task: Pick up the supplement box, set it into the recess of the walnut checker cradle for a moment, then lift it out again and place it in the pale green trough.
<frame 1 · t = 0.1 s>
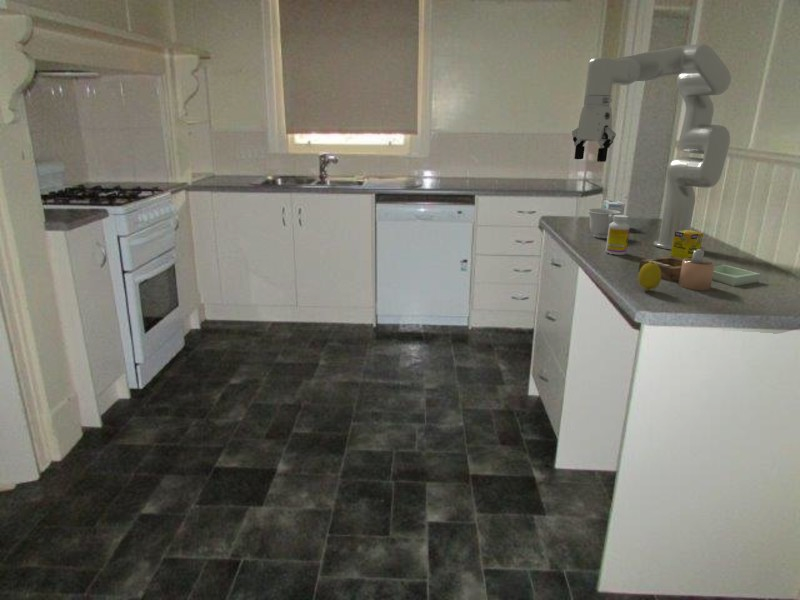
hand: (589, 160, 177), 31 cm above the countertop, tool pointing down, fingers open, 9 cm apart
supplement bottle: (615, 253, 194), on the countertop
cradle: (669, 273, 170), on the countertop
tan dispenser bottle: (694, 286, 158), on the countertop
teacup: (602, 238, 220), on the countertop
light bulb box: (610, 227, 241), on the countertop
supplement box: (682, 266, 180), on the countertop
trough: (728, 279, 166), on the countertop
lemon: (647, 291, 153), on the countertop
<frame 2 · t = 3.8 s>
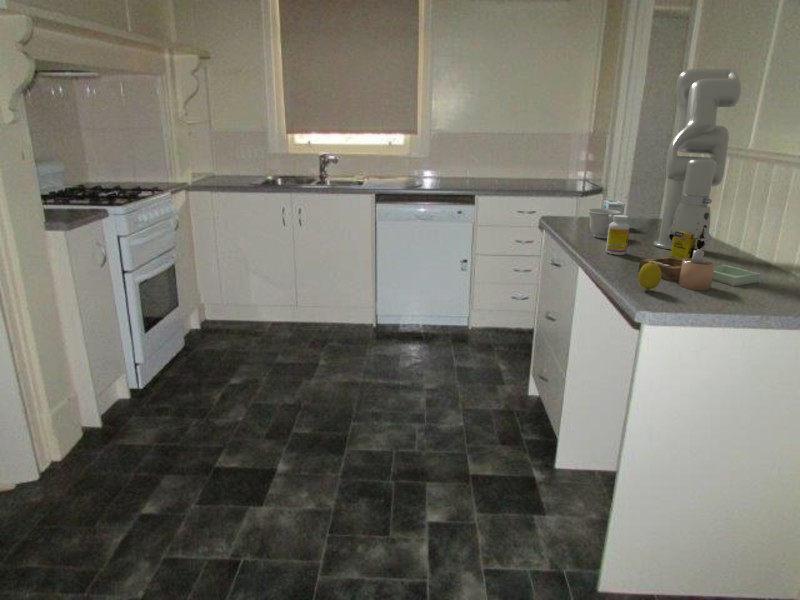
hand: (684, 257, 179), 3 cm above the countertop, tool pointing down, fingers closed on supplement box, 6 cm apart
supplement box: (682, 266, 180), on the countertop, touching gripper
everything else where it was.
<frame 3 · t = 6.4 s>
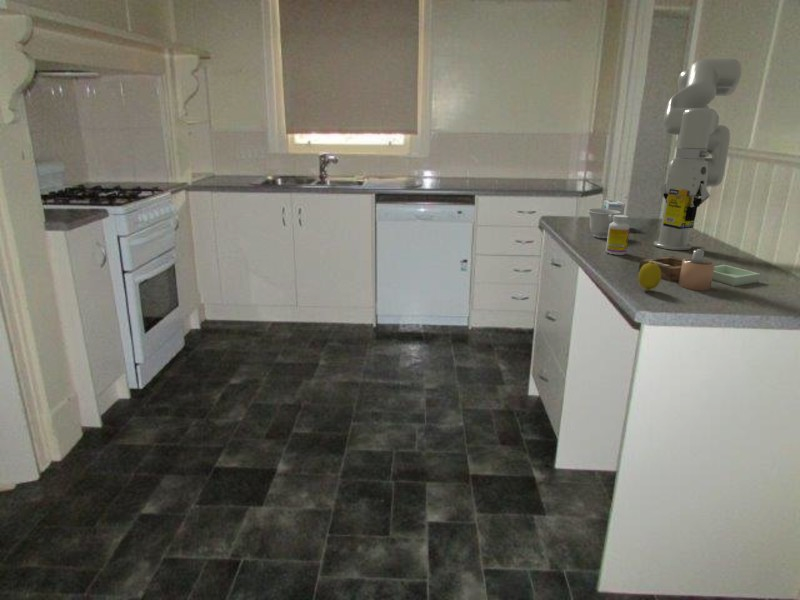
hand: (679, 218, 165), 17 cm above the countertop, tool pointing down, fingers closed on supplement box, 6 cm apart
supplement box: (678, 227, 166), point 14 cm above the countertop, touching gripper
everything else where it was.
when the fingers open (4 cm above the countertop, at t = 8.9 s): supplement box stays where it is, resting on cradle.
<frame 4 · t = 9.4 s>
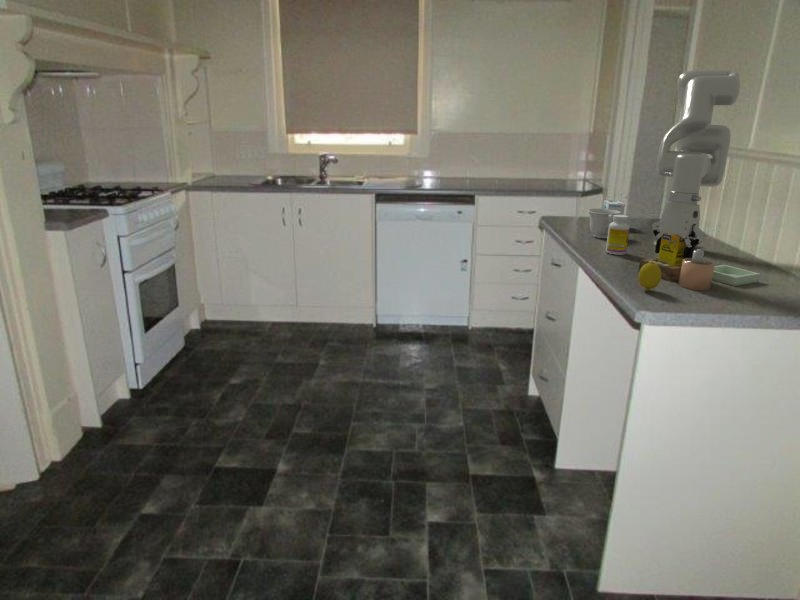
hand: (672, 256, 169), 5 cm above the countertop, tool pointing down, fingers open, 9 cm apart
supplement box: (670, 271, 170), point 1 cm above the countertop, touching cradle
everything else where it was.
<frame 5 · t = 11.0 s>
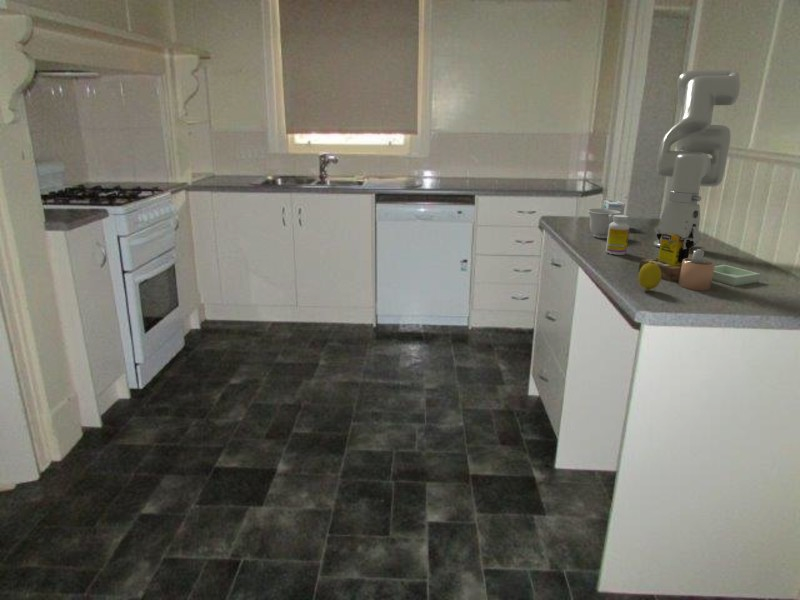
hand: (672, 258, 169), 5 cm above the countertop, tool pointing down, fingers closed on supplement box, 6 cm apart
supplement box: (670, 270, 170), point 1 cm above the countertop, touching cradle, gripper
everything else where it was.
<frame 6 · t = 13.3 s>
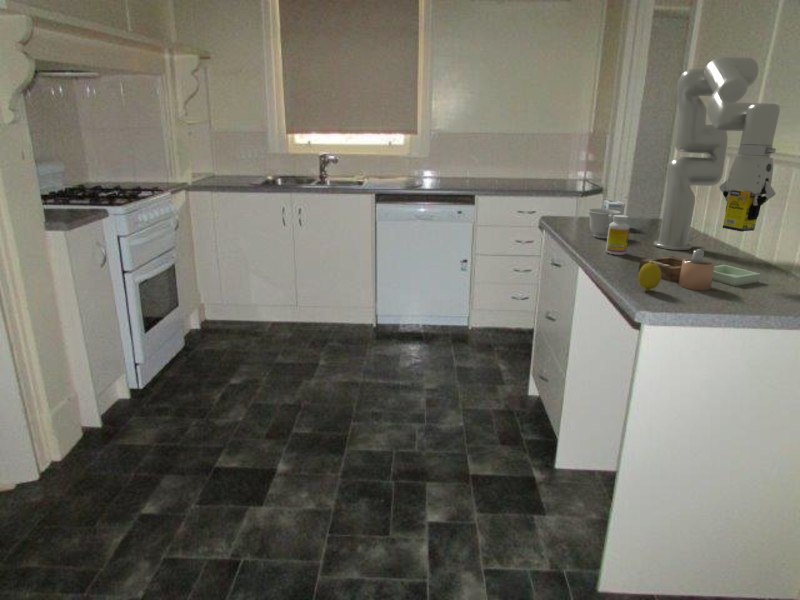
hand: (740, 216, 160), 18 cm above the countertop, tool pointing down, fingers closed on supplement box, 6 cm apart
supplement box: (738, 230, 161), point 14 cm above the countertop, touching gripper
everything else where it was.
when the fingers open (5 cm above the countertop, at t = 16.1 s): supplement box stays where it is, resting on trough.
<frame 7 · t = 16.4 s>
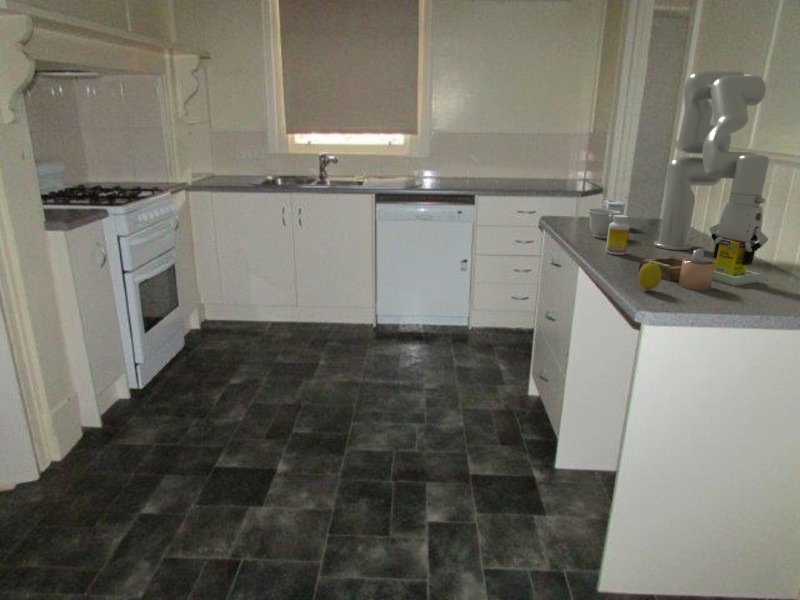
hand: (731, 260, 164), 6 cm above the countertop, tool pointing down, fingers open, 8 cm apart
supplement box: (728, 277, 166), resting on trough
everything else where it was.
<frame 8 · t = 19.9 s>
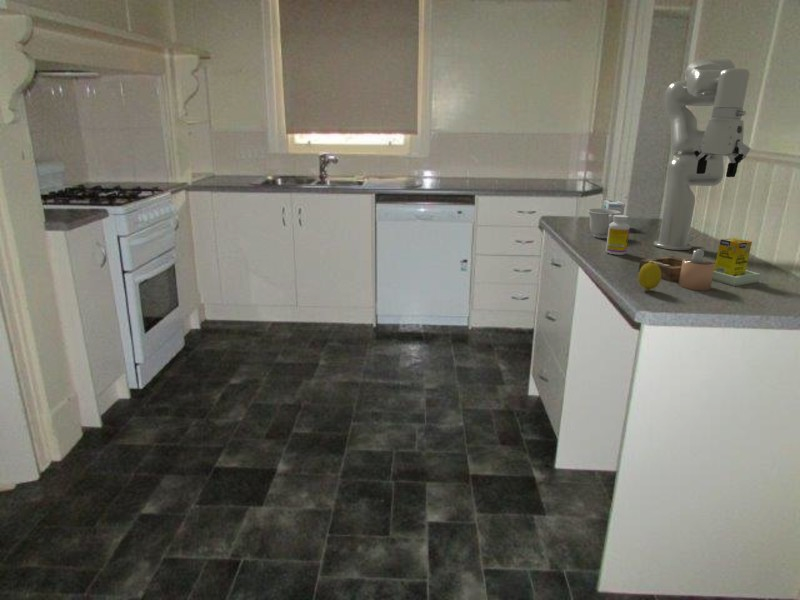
hand: (715, 175, 170), 28 cm above the countertop, tool pointing down, fingers open, 9 cm apart
nothing on the countertop moved.
at the end: supplement box inside the target area on the trough (0.1 cm from its centre), point 0.4 cm above the trough's base; supplement box tilted 0°; the gripper is holding nothing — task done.
